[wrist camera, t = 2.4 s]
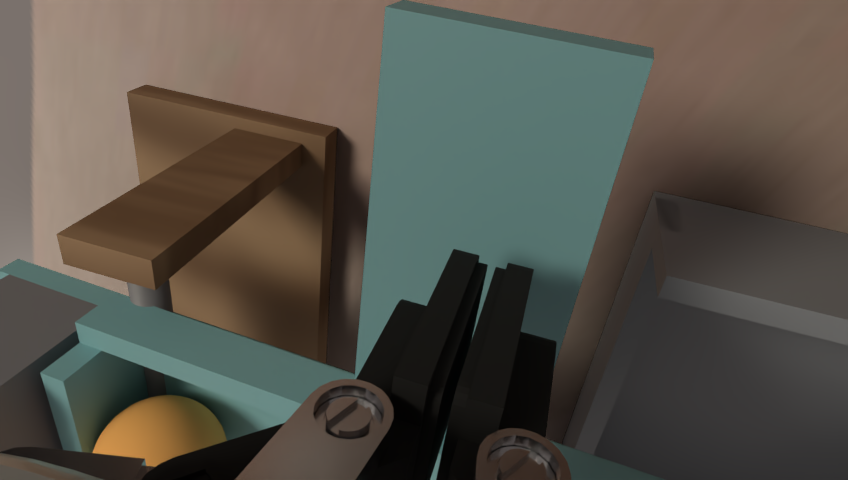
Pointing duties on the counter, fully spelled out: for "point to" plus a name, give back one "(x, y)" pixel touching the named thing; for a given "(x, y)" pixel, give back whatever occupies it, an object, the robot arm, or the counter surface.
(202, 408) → the ball
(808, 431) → the bin
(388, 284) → the lever arm
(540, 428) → the robot arm
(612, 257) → the counter surface
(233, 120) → the lever stand
